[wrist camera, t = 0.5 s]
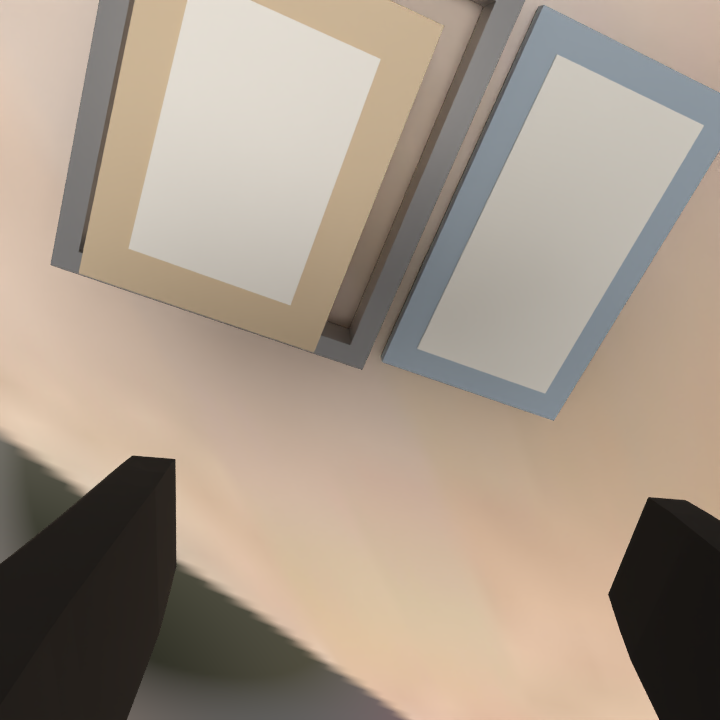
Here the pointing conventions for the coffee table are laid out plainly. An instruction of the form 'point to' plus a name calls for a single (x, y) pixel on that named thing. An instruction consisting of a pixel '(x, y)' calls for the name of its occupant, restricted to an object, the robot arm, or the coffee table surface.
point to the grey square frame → (413, 214)
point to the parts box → (251, 153)
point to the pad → (555, 216)
